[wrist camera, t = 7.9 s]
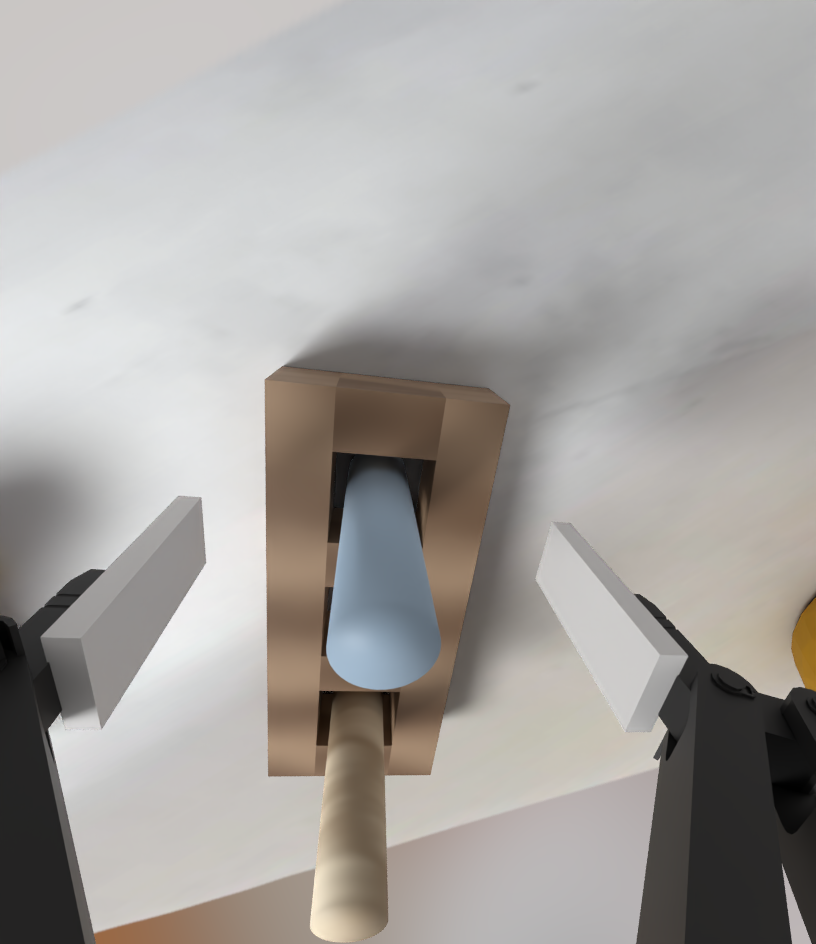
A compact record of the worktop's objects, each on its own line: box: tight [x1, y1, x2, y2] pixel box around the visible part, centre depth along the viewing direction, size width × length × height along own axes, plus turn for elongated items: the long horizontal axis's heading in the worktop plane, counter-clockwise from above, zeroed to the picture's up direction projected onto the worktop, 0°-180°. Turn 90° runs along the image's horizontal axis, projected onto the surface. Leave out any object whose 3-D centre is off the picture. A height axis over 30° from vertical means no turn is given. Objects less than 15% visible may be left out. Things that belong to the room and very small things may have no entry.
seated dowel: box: [310, 691, 388, 943], centre depth 22 cm, size 3×3×12 cm
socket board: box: [265, 366, 510, 776], centre depth 23 cm, size 24×10×4 cm, turn 173°
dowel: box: [326, 454, 441, 690], centre depth 16 cm, size 3×3×12 cm
